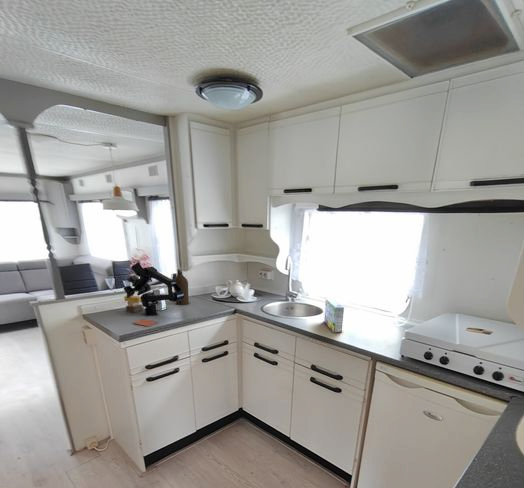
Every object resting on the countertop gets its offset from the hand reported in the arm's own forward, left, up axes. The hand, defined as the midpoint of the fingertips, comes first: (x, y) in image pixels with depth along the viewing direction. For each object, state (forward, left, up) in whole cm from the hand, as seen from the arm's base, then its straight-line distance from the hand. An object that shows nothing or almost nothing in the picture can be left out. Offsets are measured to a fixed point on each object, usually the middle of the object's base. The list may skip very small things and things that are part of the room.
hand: (132, 296), depth 218 cm
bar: (0, 0, -3) cm, 3 cm away
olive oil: (-35, -7, -10) cm, 37 cm away
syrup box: (-17, +3, -10) cm, 20 cm away
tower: (0, 0, -10) cm, 10 cm away
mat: (-2, +31, -10) cm, 33 cm away
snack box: (-102, +86, -10) cm, 134 cm away
